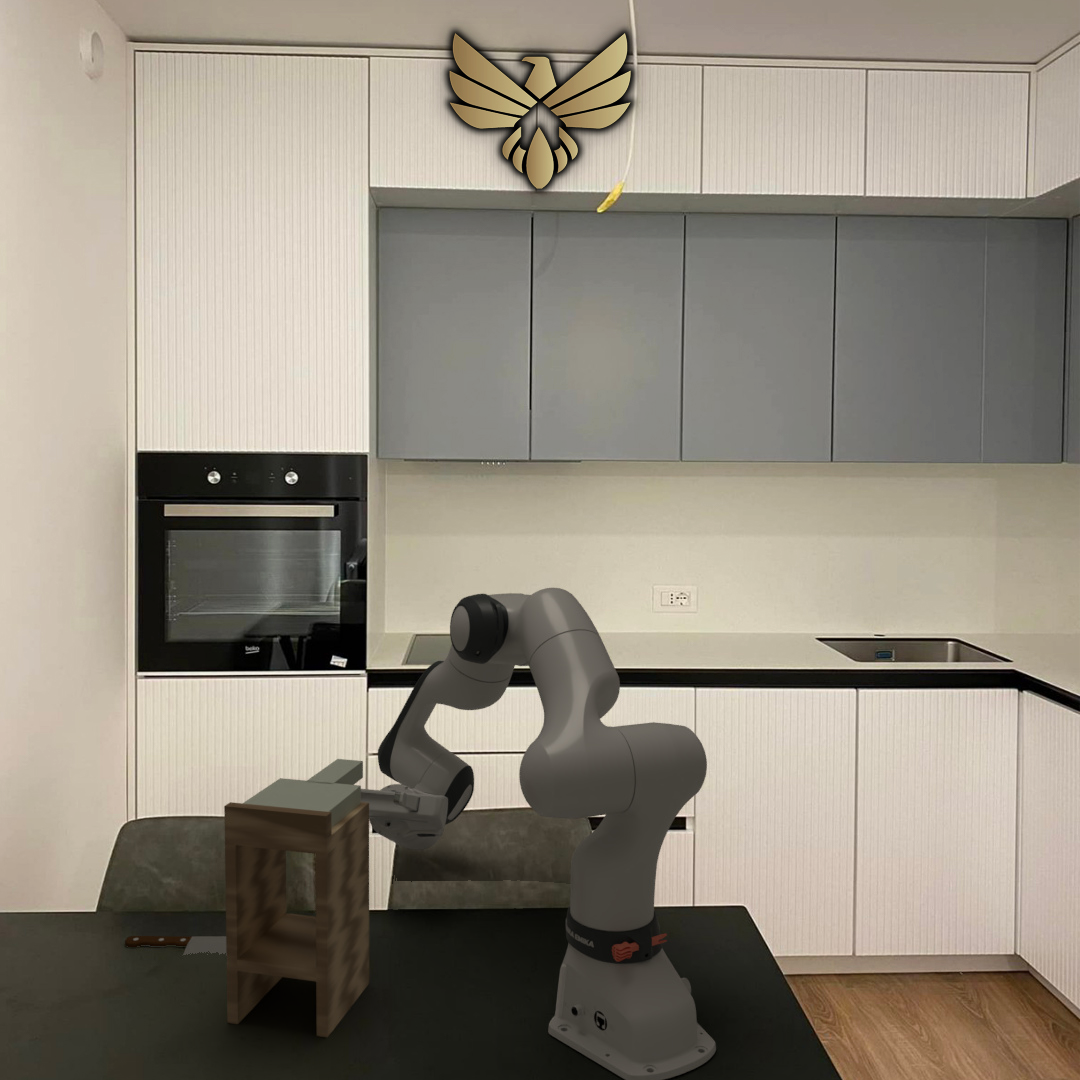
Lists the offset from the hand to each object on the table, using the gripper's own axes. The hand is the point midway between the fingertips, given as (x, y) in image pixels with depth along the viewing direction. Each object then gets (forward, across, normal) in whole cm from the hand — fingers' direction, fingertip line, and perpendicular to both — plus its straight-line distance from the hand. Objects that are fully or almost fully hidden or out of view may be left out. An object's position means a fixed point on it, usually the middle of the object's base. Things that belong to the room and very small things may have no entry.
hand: (369, 794), depth 166 cm
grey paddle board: (+19, 0, +5) cm, 19 cm away
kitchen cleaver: (+2, -20, +26) cm, 33 cm away
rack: (+11, 0, +30) cm, 32 cm away
